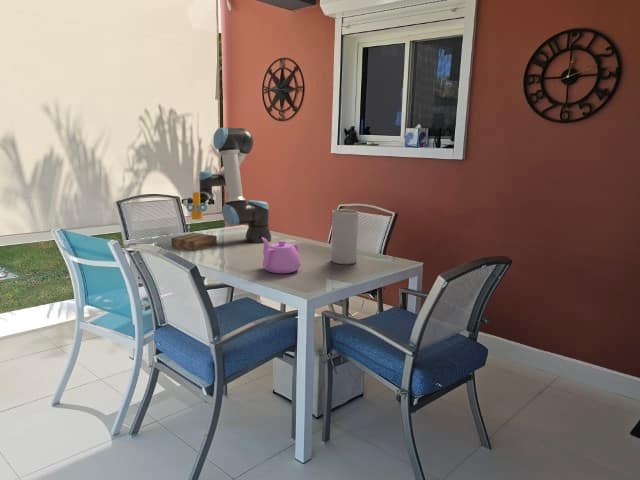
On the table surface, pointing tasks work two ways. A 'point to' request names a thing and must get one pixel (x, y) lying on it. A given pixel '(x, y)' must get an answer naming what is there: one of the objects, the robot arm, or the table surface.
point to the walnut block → (194, 241)
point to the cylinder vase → (344, 236)
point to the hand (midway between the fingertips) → (195, 203)
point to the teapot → (281, 257)
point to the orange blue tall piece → (196, 206)
